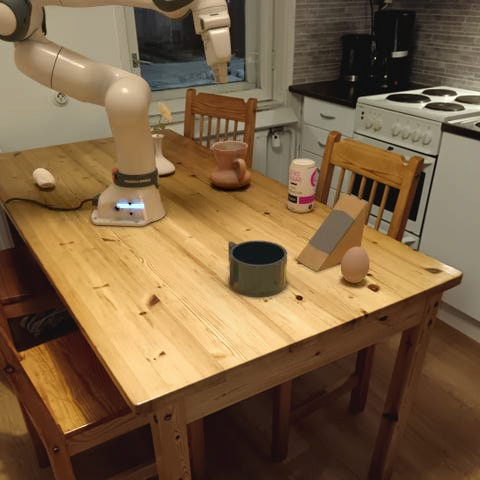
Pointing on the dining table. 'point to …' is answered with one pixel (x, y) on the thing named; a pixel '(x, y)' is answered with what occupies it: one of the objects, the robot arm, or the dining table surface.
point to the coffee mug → (257, 268)
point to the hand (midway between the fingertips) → (221, 83)
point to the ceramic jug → (230, 165)
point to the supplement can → (301, 185)
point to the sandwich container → (336, 234)
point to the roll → (43, 178)
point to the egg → (355, 265)
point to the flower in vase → (161, 162)
